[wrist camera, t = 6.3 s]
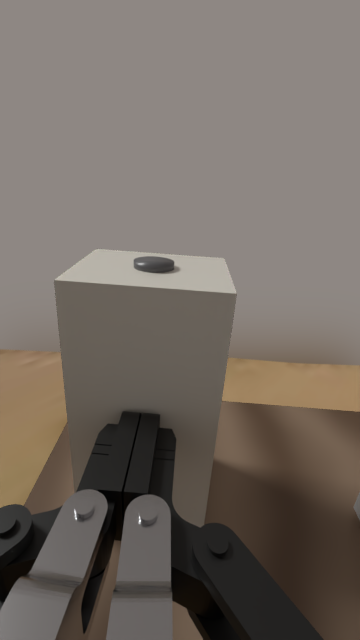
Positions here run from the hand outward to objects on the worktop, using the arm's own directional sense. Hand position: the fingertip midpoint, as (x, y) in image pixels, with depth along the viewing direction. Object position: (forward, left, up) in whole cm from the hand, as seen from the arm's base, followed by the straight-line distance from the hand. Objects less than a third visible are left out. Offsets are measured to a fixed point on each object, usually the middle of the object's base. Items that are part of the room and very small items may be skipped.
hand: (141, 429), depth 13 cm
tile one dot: (0, +2, -6) cm, 6 cm away
